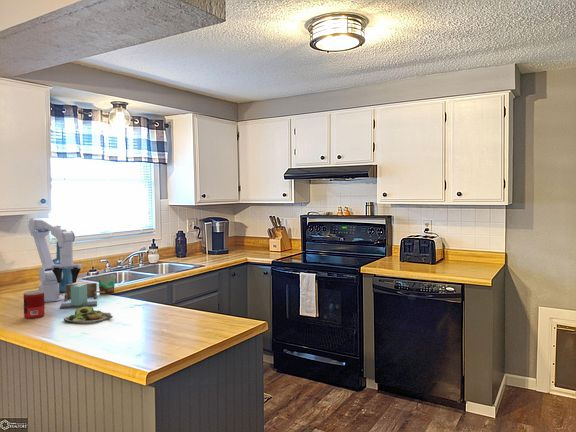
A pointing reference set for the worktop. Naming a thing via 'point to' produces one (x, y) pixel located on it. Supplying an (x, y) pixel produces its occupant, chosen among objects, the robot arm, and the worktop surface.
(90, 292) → the brown banded box
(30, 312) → the canned food
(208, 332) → the worktop surface
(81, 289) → the pale green block
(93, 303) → the rubber mat
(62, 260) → the robot arm
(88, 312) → the salad plate
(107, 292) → the food container
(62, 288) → the wine bottle
